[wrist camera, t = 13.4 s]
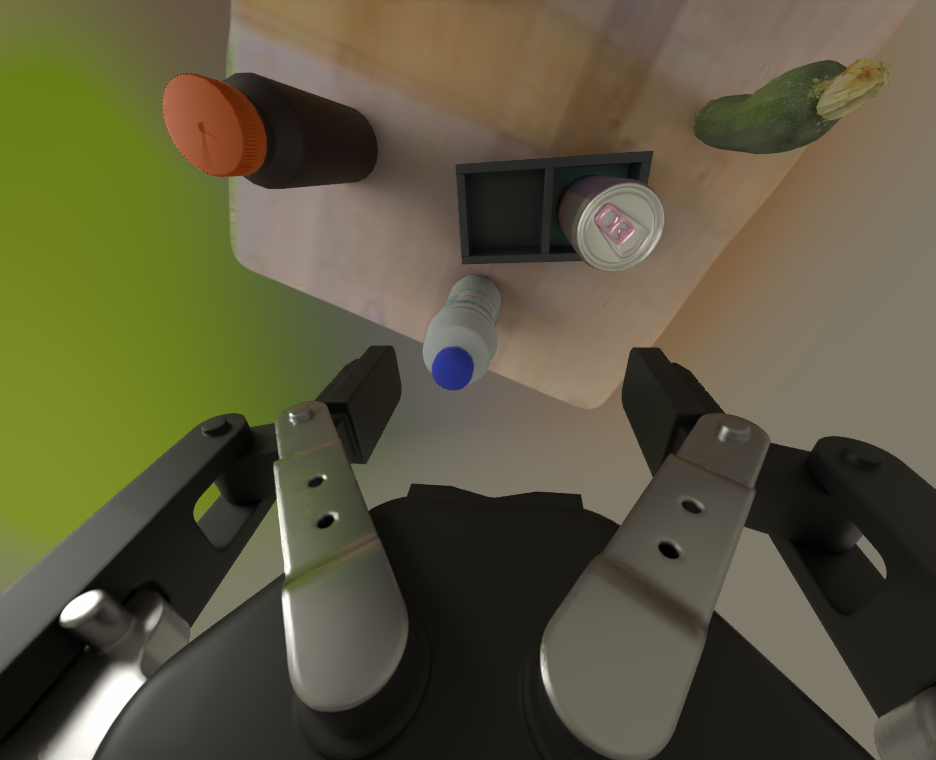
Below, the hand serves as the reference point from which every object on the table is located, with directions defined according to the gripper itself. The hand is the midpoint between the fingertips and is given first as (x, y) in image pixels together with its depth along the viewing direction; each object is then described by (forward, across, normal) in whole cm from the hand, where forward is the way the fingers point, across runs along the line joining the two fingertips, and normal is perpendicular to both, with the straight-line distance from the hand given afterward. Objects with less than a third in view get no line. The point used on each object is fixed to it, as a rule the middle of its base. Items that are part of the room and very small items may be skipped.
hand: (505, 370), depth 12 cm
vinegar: (+32, +18, -9) cm, 38 cm away
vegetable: (+32, -17, -8) cm, 37 cm away
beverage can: (+31, -7, -2) cm, 32 cm away
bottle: (+32, +5, +8) cm, 34 cm away
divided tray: (+32, -3, -2) cm, 32 cm away
